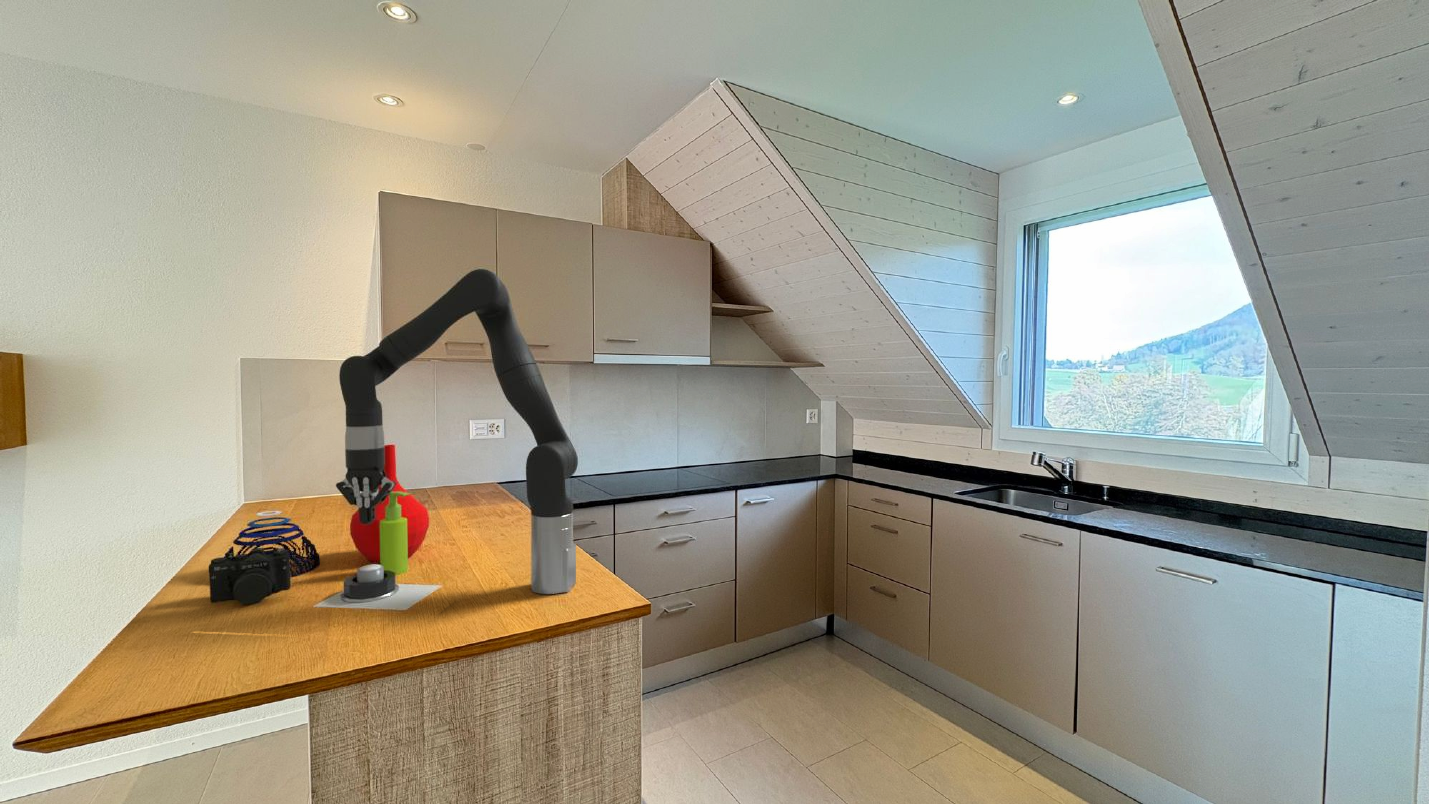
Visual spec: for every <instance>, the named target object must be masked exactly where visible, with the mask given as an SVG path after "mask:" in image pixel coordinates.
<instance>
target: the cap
mask: <svg viewBox="0 0 1429 804" xmlns="http://www.w3.org/2000/svg"><path fill="white" fill-rule="evenodd" d="M356 574H357V583H368V582H375V581H378V580H382V579H384V571H383V566H382V565H380V564H377V563H376V564H375V563H374V564H373V563H372V564H366V565H363V566H360V567H359V568H358V569H357V570H356Z"/></svg>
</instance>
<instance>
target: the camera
mask: <svg viewBox="0 0 1429 804" xmlns="http://www.w3.org/2000/svg"><path fill="white" fill-rule="evenodd" d="M263 548H264V547H258V548H256V549H253V548H250V549H251V550H249V553H250V556H248V553H244V554H242V553H240V555H236V554H235V555H234V556H232V554H233V553H229V557H226V558H224V556H223V557H216V558H212V559H211V560H210V563H209V565H208V576H209V601H210V603H218V601H219V602H224V601H230V600H236V601H238V603H241V604H243V605H255V604H257V603H260V602H261V601H263V600H264V599H265V598H266V597H268V596H269V595H270V596H271V595H273V594H277V593H280V592H282V591H283V592H284V591H288V590H290V589H291V583H292V581H291V578H290V577H291V572H290V567H291V564H290V562H291V560H289V557H290V554H289V553H288V550H285V548H283V547H280V548H278V549H277V550H276V551H275V552H273V554H269V555H265V553H264V551H265V550H264V549H263Z"/></svg>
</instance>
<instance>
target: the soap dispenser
mask: <svg viewBox="0 0 1429 804" xmlns="http://www.w3.org/2000/svg"><path fill="white" fill-rule="evenodd" d="M408 495H411V494H410V493H409V492H408V493H406V492H401V491H394V492H390V494H389V504H388V505H387V506H386V507H385V519H383V520H381V521H380V564H379V565H382V566H383V570H387V571H392V572H395V576H398V575H399V576H400V575H403V574H405V573H408V571H409V558H408V540H407V518H403V517H401V505H399V504H397V496H402V497H405V496H408Z"/></svg>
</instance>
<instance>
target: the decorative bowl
mask: <svg viewBox="0 0 1429 804" xmlns="http://www.w3.org/2000/svg"><path fill="white" fill-rule="evenodd" d="M282 512H283V511H281V510H269V511H261V512H258V513H256V517H258V518H259V517H262V518H259V519H255V520H252V521H249V522H248V523H247V524H246V526H247V527H246V528H244V529H241V531H240V532H239V533H238V536H237V537H236V538H235V539H234V540H233V541H232V543H233V545H235V546H241V549H239V550H238V551H237V552H236V554H235V553H234V552H235V550H234V546H231V547H230V548H228V550H227V552H225V553H224V556H223V558H226V557H229V553H233V554H232V556H236V555H240V554H248V556H250V552H248V551H249V550H250V549H256V548H261V547H262V548H263V549H264V553H265V555H269V554H273V552H275V551H276V550H277V549H279V548H278V547H274V546H268V547H263V546H267V545H275V546H277V545H278V546H280V547H281V548H285V550H288V553H289V554H290V557H289V561H290V579H291V578H295V577H297V576H300V575H304V574H307V573H308V572H312V571H313V570H316V569H317V568H318V567H319V566H320V564H321V559H320V554H319V552H317V549H316V546H315V544H314V543H312V542H311V541H312V540H310V539H308V538H307V536H305V534H304V531H303V530H302V529H301V528H300V525H298V524H295V523H293V522H290V521H292V519H291V518H289V517H286V516H285V517H283V516H280V517H279V516H278V515H281V514H282ZM273 516H275V517H273ZM263 517H265V518H263ZM271 520H272V521H273V520H280V521H276V522H269V523H267V522H266V523H259V522H263V521H271ZM278 526H279V527H278ZM280 526H282V527H280ZM285 526H290V527H285ZM267 527H270V528H268V529H263V528H267ZM271 527H275V528H271ZM257 529H261V530H257ZM254 530H255V531H254ZM248 531H249V532H248ZM293 532H298V533H296V534H293V535H289V536H283V535H287V534H290V533H293ZM300 537H301V541H302V542H301V547H300V546H298V544H297V543H296V542H295V541H293V540H296V539H299V538H300ZM243 538H245V539H252V540H251V541H243V540H241V539H243ZM285 543H286V544H285ZM290 547H291V548H292V549H291V548H290ZM297 551H298V552H297ZM246 552H247V553H246ZM304 555H305V556H304ZM292 562H293V563H292ZM292 568H293V569H292ZM297 568H298V569H297Z"/></svg>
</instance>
